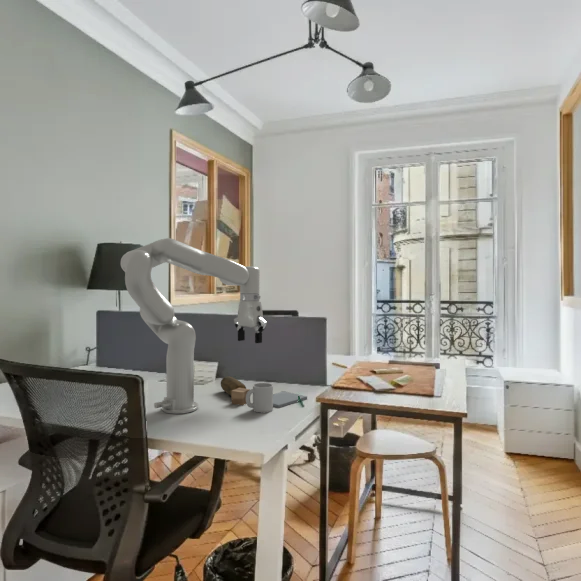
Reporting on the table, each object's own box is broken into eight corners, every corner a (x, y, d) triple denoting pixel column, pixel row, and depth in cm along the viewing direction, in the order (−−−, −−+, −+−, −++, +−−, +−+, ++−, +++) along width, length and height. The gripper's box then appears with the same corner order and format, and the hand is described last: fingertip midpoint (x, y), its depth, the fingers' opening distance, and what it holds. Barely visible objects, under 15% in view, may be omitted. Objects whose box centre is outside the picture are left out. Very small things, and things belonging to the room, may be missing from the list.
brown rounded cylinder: (217, 392, 188) (217, 376, 188) (232, 390, 192) (232, 374, 192) (233, 400, 176) (233, 383, 175) (249, 398, 180) (249, 381, 179)
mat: (278, 407, 166) (278, 405, 166) (255, 401, 174) (255, 399, 174) (307, 399, 178) (307, 396, 178) (284, 393, 186) (284, 391, 186)
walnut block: (242, 405, 169) (242, 392, 169) (231, 403, 171) (231, 390, 171) (250, 402, 173) (250, 389, 173) (238, 400, 176) (238, 387, 175)
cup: (275, 411, 161) (276, 386, 161) (248, 414, 157) (248, 389, 157) (268, 406, 168) (269, 382, 168) (242, 409, 164) (242, 384, 164)
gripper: (272, 298, 176) (272, 342, 176) (241, 297, 187) (241, 338, 188) (258, 299, 170) (258, 345, 171) (227, 297, 181) (227, 340, 182)
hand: (249, 341), depth 179 cm, fingers open, 9 cm apart
